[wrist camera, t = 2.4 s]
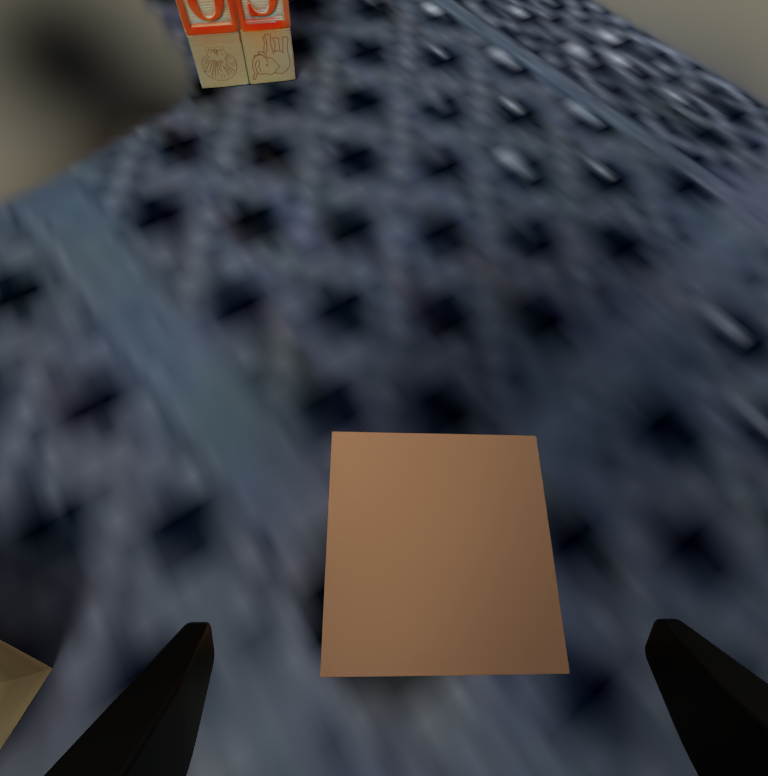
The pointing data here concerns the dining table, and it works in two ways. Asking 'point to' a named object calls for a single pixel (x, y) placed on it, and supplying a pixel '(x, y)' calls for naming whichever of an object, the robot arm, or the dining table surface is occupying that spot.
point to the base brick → (17, 686)
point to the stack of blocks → (239, 40)
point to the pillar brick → (439, 558)
